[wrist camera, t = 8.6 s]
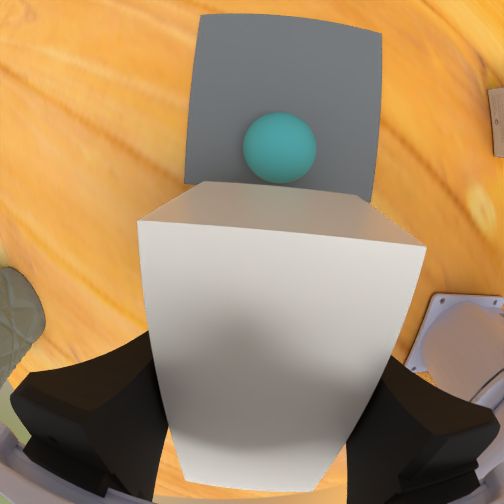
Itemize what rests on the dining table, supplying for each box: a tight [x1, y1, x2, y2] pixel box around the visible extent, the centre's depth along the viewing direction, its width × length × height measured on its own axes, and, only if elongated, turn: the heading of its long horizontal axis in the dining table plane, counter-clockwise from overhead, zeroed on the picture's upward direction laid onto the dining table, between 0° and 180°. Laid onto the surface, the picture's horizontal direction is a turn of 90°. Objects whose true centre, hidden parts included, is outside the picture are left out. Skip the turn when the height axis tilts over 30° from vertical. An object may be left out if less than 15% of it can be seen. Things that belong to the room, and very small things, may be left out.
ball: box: [243, 112, 316, 183], centre depth 15 cm, size 4×4×4 cm
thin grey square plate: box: [184, 14, 382, 203], centre depth 16 cm, size 12×12×1 cm
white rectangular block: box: [137, 181, 427, 492], centre depth 10 cm, size 6×12×6 cm, turn 177°
